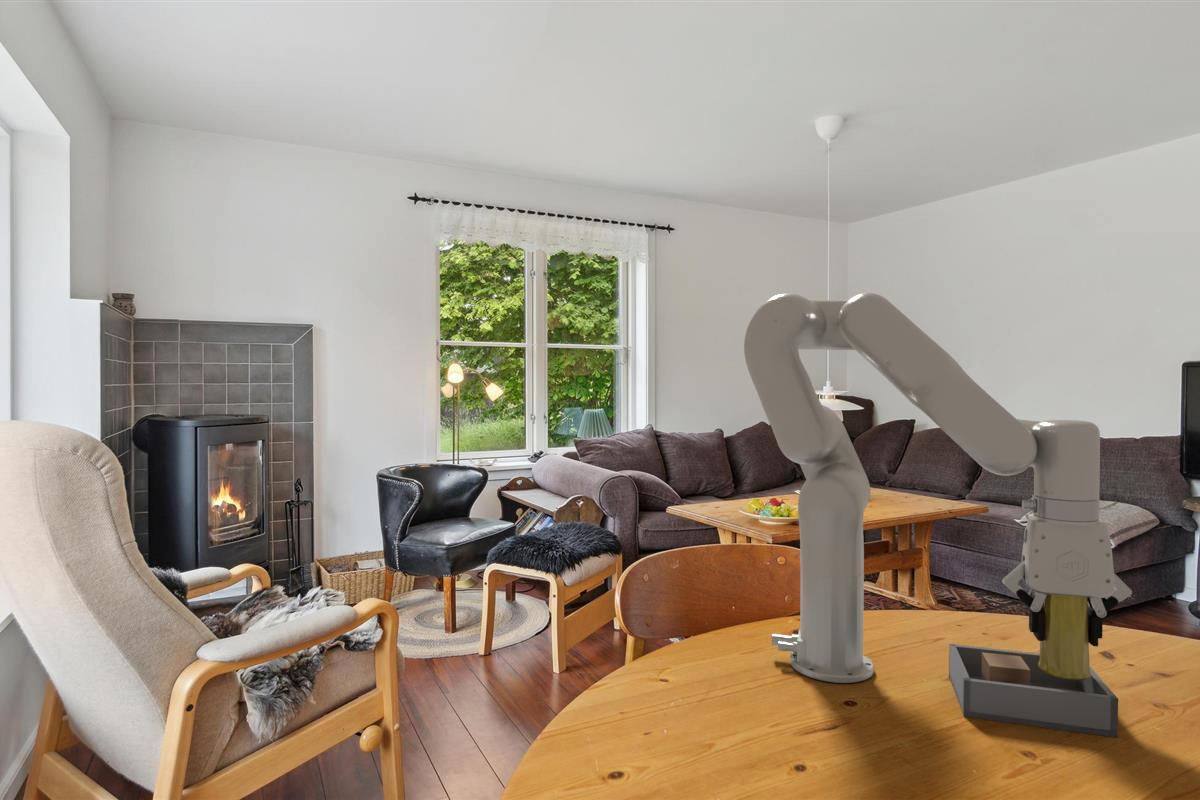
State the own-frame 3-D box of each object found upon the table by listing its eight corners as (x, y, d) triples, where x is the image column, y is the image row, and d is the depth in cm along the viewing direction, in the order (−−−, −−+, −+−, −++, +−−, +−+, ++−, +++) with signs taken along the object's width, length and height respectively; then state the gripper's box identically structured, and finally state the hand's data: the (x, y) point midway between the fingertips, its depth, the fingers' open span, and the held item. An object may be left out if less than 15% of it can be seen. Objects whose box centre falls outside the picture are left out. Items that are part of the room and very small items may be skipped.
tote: (963, 716, 95) (964, 680, 95) (948, 675, 108) (949, 643, 108) (1117, 737, 89) (1118, 698, 89) (1082, 692, 102) (1082, 658, 102)
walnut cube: (988, 701, 98) (989, 665, 97) (981, 686, 102) (981, 652, 102) (1029, 706, 96) (1030, 670, 96) (1020, 690, 101) (1020, 656, 101)
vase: (1099, 682, 93) (1101, 576, 93) (1048, 679, 94) (1049, 574, 94) (1078, 664, 99) (1079, 564, 99) (1030, 661, 100) (1031, 562, 100)
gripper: (1001, 511, 95) (1000, 643, 96) (1152, 518, 90) (1150, 657, 90) (989, 502, 102) (989, 624, 103) (1129, 508, 97) (1128, 637, 97)
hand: (1064, 638), depth 97 cm, fingers closed on vase, 5 cm apart
